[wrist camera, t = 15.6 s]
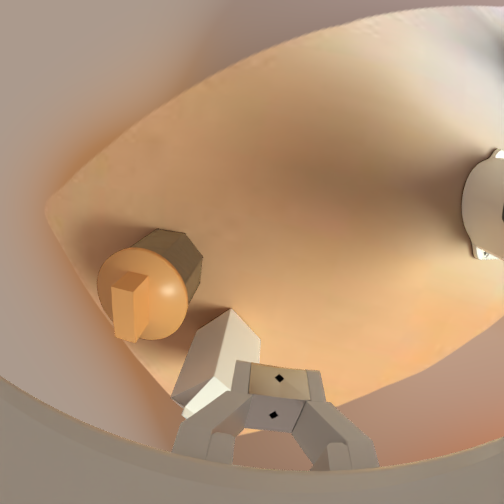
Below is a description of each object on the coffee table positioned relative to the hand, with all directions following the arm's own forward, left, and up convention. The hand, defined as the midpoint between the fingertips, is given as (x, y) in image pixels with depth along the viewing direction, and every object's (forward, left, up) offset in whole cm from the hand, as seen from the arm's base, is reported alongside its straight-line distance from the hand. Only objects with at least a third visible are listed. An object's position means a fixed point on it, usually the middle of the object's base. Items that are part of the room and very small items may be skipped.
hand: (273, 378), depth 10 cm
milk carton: (+3, +19, -29) cm, 35 cm away
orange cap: (+13, +9, -21) cm, 26 cm away
